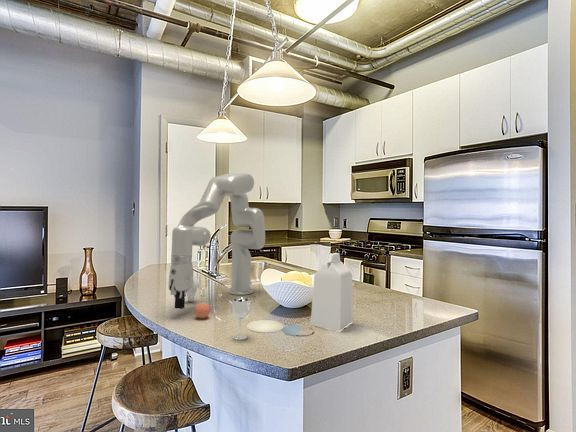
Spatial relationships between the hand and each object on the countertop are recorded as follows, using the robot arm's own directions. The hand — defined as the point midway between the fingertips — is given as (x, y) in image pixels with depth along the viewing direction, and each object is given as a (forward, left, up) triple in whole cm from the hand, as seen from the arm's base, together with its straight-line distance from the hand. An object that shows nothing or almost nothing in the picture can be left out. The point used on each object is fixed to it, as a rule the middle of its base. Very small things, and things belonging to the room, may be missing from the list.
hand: (179, 308), depth 130 cm
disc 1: (0, +35, -3) cm, 35 cm away
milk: (-11, +57, -3) cm, 58 cm away
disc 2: (0, +47, -3) cm, 47 cm away
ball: (0, +10, 0) cm, 10 cm away
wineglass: (+13, +31, -3) cm, 33 cm away
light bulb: (-18, -6, -3) cm, 20 cm away
